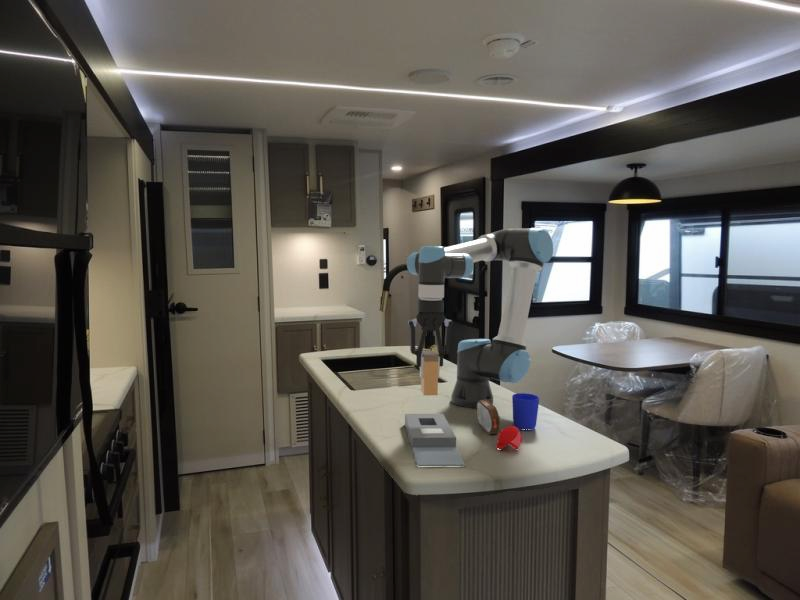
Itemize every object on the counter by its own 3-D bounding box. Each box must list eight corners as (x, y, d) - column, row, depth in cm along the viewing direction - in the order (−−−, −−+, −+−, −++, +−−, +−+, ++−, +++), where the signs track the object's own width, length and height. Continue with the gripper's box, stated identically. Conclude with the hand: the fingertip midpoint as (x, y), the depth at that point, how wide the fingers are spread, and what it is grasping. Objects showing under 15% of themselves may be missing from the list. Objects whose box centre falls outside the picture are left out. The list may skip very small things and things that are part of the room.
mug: (540, 422, 175) (541, 391, 174) (536, 433, 164) (538, 401, 163) (514, 419, 178) (515, 389, 177) (509, 430, 166) (510, 398, 166)
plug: (434, 389, 164) (434, 350, 163) (437, 395, 158) (438, 354, 157) (420, 390, 164) (421, 350, 163) (423, 395, 158) (424, 354, 157)
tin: (500, 437, 160) (501, 409, 159) (490, 438, 159) (491, 410, 158) (484, 421, 174) (485, 396, 174) (474, 422, 174) (475, 396, 173)
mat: (455, 449, 149) (455, 447, 149) (464, 467, 137) (465, 464, 137) (412, 450, 148) (412, 447, 148) (417, 467, 136) (417, 464, 136)
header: (442, 424, 171) (442, 412, 170) (455, 449, 149) (456, 436, 148) (404, 424, 169) (405, 413, 169) (412, 450, 148) (412, 437, 147)
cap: (512, 430, 156) (496, 421, 154) (526, 429, 151) (511, 420, 149) (505, 457, 152) (489, 448, 150) (520, 457, 148) (504, 448, 146)
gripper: (457, 297, 163) (455, 374, 165) (400, 297, 161) (399, 374, 164) (462, 300, 156) (460, 380, 158) (403, 299, 154) (402, 380, 156)
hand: (429, 377), depth 161 cm, fingers closed on plug, 4 cm apart
